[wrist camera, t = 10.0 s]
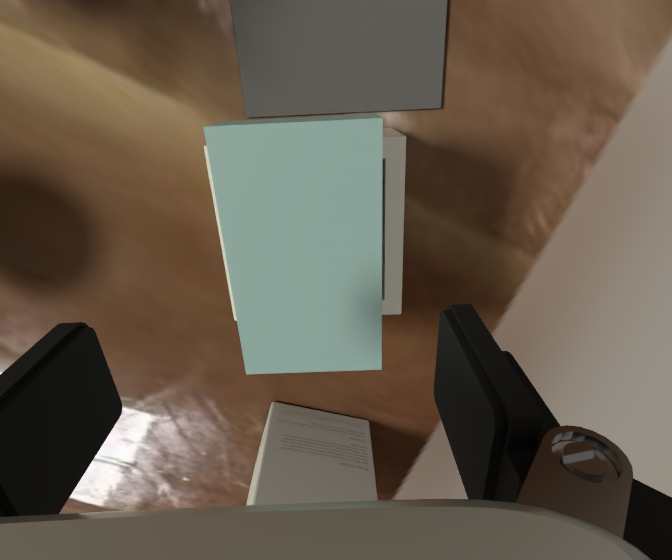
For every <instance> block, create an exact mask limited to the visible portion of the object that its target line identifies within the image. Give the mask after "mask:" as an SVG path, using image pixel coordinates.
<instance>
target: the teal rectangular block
mask: <svg viewBox="0 0 672 560" xmlns="http://www.w3.org/2000/svg"><path fill="white" fill-rule="evenodd" d="M204 133H205V139H206V145H207V151H208V156H209V162H210V168H211V174H212V179H213V185H214V191H215V197H216V202H217V208H218V214H219V220H220V226H221V231H222V237H223V243H224V249H225V254H226V260H227V266H228V272H229V277H230V283H231V289H232V295H233V301H234V306H235V312H236V318H237V324H238V329H239V335H240V341H241V347H242V352H243V358H244V364H245V370H246V374H268V373H296V372H325V371H353V370H381V369H382V155H383V118H382V117H379V116H377V115H375V114H362V115H342V116H321V117H300V118H280V119H259V120H238V121H226V122H222V123H217V124H213V125H208V126H204Z"/></svg>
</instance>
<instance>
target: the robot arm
mask: <svg viewBox="0 0 672 560" xmlns="http://www.w3.org/2000/svg"><path fill="white" fill-rule="evenodd" d="M434 397H435V402H436V405H437V408H438V411H439V414H440V417H441V420H442V423H443V425H444V429H445V431H446V435H447V437H448V440H449V443H450V446H451V449H452V452H453V455H454V458H455V461H456V464H457V467H458V470H459V473H460V476H461V479H462V482H463V485H464V487H465V491H466V494H467V497H468V500H467V499H420V500H375V501H347V502H322V503H296V504H271V505H246V506H223V507H201V508H178V509H157V510H135V511H113V512H93V513H74V514H59V513H60V511H61V509H62V508H63V506H64V505H65V503H66V501H67V500H68V498H69V497H70V495H71V494H72V492H73V490H74V489H75V487H76V486H77V484H78V482H79V481H80V479H81V478H82V476H83V474H84V473H85V471H86V470H87V468H88V467H89V465H90V463H91V462H92V460H93V459H94V457H95V455H96V454H97V452H98V451H99V449H100V448H101V446H102V444H103V443H104V441H105V440H106V438H107V436H108V435H109V433H110V432H111V430H112V428H113V427H114V425H115V424H116V422H117V421H118V419H119V417H120V415H121V412H122V402H121V400H120V397H119V394H118V392H117V389H116V386H115V383H114V381H113V378H112V375H111V373H110V370H109V367H108V365H107V362H106V359H105V357H104V354H103V351H102V349H101V346H100V343H99V341H98V338H97V335H96V333H95V331H94V329H93V328H90V327H89V326H88V325H87V324H86V323H83V322H79V323H61V324H58V325H57V326H55V327H54V328H53V329H52V330H51V331H50V332H48V333H47V334H46V335H45V336H44V337H43V338H42V339H40V340H39V341H38V342H37V343H36V344H35V345H34V346H33V347H31V348H30V349H29V350H28V351H27V352H26V353H25V354H23V355H22V356H21V357H20V358H19V359H18V360H17V361H16V362H14V363H13V364H12V365H11V366H10V367H9V368H8V369H6V370H5V371H4V372H3V373H2V374H1V375H0V560H672V498H671V497H669V496H667V495H665V494H663V493H661V492H659V491H657V490H655V489H653V488H651V487H649V486H647V485H645V484H643V483H641V482H639V481H637V480H635V479H633V471H632V465H631V463H630V462H629V460H628V458H627V456H626V455H625V454H624V453H623V452H622V450H621V449H620V448H619V447H618V446H617V445H615V444H614V443H613V442H611V441H610V440H609V439H607V438H606V437H604V436H602V435H600V434H598V433H596V432H594V431H591V430H588V429H585V428H582V427H576V426H560V425H559V423H558V422H557V420H556V419H555V417H554V416H553V414H552V413H551V412H550V410H549V408H548V407H547V406H546V405H545V403H544V401H543V400H542V398H541V397H540V395H539V394H538V392H537V391H536V389H535V388H534V386H533V385H532V383H531V382H530V381H529V379H528V378H527V376H526V375H525V373H524V372H523V370H522V369H521V367H520V366H519V364H518V363H517V362H516V360H515V359H514V357H513V356H512V355H511V354H510V353H509V352H507V351H501V349H500V348H499V346H498V345H497V343H496V342H495V340H494V339H493V337H492V335H491V334H490V332H489V331H488V329H487V328H486V326H485V325H484V323H483V322H482V320H481V319H480V317H479V316H478V314H477V312H476V311H475V309H474V308H473V306H472V305H471V304H460V305H449V306H448V307H447V310H446V311H441V313H440V321H439V333H438V345H437V357H436V369H435V381H434Z"/></svg>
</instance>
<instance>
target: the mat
mask: <svg viewBox="0 0 672 560" xmlns="http://www.w3.org/2000/svg"><path fill="white" fill-rule="evenodd" d="M230 3H231V11H232V19H233V26H234V34H235V42H236V49H237V57H238V65H239V72H240V80H241V88H242V95H243V103H244V111H245V118H248V117H268V116H289V115H309V114H330V113H350V112H371V111H391V110H412V109H432V108H441V97H442V80H443V64H444V47H445V31H446V14H447V0H230Z"/></svg>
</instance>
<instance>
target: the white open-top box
mask: <svg viewBox="0 0 672 560" xmlns="http://www.w3.org/2000/svg"><path fill="white" fill-rule="evenodd" d="M204 151H205V156H206V162H207V168H208V173H209V179H210V185H211V190H212V196H213V202H214V207H215V213H216V219H217V224H218V230H219V236H220V241H221V247H222V253H223V258H224V264H225V270H226V275H227V281H228V287H229V292H230V298H231V304H232V309H233V315H234V320H237V318H236V312H235V306H234V301H233V295H232V289H231V283H230V277H229V272H228V266H227V260H226V254H225V249H224V243H223V237H222V231H221V226H220V220H219V214H218V208H217V202H216V197H215V191H214V185H213V179H212V174H211V168H210V162H209V156H208V151H207V145H205V146H204ZM405 163H406V136H405V135H403V134H401V133H399V132H398V131H396V130H394V129H392V128H383V155H382V315H390V314H401V307H402V271H403V235H404V199H405Z"/></svg>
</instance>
